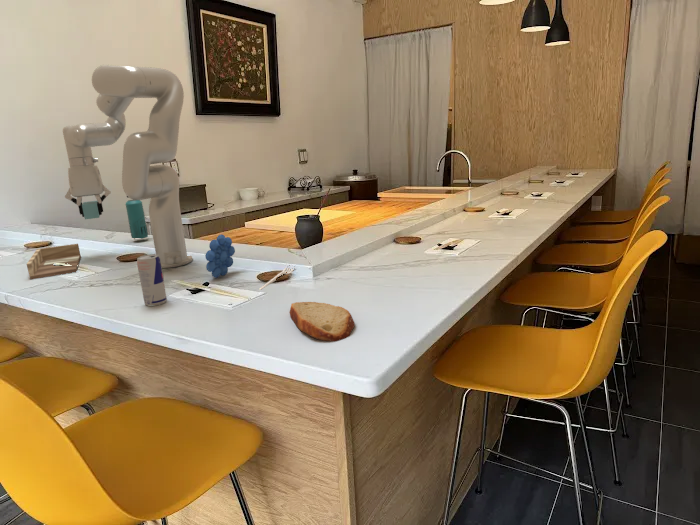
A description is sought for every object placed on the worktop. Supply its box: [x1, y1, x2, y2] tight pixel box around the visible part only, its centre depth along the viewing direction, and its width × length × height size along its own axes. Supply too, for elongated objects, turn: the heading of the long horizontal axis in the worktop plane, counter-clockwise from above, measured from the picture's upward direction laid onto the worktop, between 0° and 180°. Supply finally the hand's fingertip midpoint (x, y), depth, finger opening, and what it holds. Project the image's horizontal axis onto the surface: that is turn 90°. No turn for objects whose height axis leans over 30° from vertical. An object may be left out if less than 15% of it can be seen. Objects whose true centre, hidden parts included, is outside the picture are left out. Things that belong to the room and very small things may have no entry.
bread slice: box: [289, 301, 356, 343], centre depth 109 cm, size 18×18×4 cm
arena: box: [26, 243, 82, 280], centre depth 174 cm, size 24×13×5 cm, turn 24°
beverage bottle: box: [124, 195, 149, 239], centre depth 206 cm, size 6×7×20 cm
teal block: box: [82, 200, 101, 220], centre depth 181 cm, size 9×4×5 cm, turn 24°
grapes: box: [205, 234, 236, 279], centre depth 149 cm, size 12×7×12 cm, turn 152°
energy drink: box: [136, 253, 168, 306], centre depth 129 cm, size 5×5×12 cm
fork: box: [258, 266, 294, 290], centre depth 144 cm, size 3×20×2 cm, turn 161°
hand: (92, 214), depth 181 cm, fingers closed on teal block, 4 cm apart
